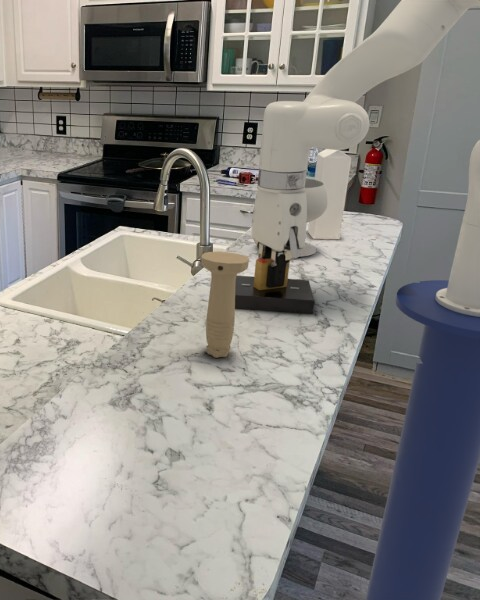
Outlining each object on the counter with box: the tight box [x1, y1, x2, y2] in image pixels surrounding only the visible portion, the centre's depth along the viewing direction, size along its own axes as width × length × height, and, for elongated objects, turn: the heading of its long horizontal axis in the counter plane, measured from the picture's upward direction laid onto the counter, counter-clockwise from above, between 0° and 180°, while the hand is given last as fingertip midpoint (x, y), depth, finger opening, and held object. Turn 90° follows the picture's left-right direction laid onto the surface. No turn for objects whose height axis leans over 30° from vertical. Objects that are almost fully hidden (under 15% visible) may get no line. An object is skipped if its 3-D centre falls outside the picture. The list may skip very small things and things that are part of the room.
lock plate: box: [235, 275, 315, 315], centre depth 109 cm, size 14×10×3 cm
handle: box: [200, 251, 250, 359], centre depth 88 cm, size 5×6×15 cm
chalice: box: [278, 177, 327, 258], centre depth 133 cm, size 14×14×15 cm
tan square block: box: [253, 258, 291, 290], centre depth 107 cm, size 6×2×5 cm, turn 105°
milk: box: [307, 149, 352, 240], centre depth 141 cm, size 6×6×22 cm
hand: (270, 283), depth 108 cm, fingers closed on tan square block, 2 cm apart
